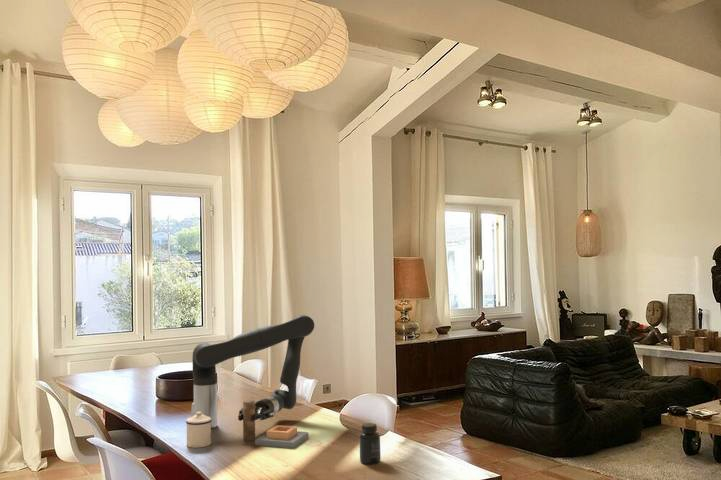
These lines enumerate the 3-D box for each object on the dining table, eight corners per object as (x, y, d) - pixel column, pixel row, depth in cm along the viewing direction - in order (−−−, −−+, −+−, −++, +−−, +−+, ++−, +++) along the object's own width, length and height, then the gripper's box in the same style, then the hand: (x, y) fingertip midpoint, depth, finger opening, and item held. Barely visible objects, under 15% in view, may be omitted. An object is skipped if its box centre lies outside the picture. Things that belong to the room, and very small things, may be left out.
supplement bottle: (379, 458, 206) (379, 421, 206) (381, 464, 199) (380, 427, 199) (359, 458, 205) (358, 422, 206) (360, 465, 199) (359, 427, 199)
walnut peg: (241, 440, 228) (240, 402, 229) (246, 437, 233) (246, 399, 233) (251, 441, 227) (251, 403, 228) (257, 438, 231) (256, 400, 232)
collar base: (255, 445, 223) (254, 432, 223) (272, 434, 236) (271, 422, 236) (293, 448, 218) (293, 435, 218) (308, 437, 231) (308, 425, 232)
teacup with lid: (216, 444, 224) (216, 411, 225) (194, 449, 218) (194, 416, 218) (198, 438, 233) (198, 406, 233) (177, 443, 226) (177, 411, 227)
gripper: (250, 397, 246) (228, 407, 230) (282, 399, 242) (262, 409, 226) (250, 416, 246) (228, 427, 230) (282, 418, 242) (263, 430, 225)
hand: (245, 418), depth 228 cm, fingers closed on walnut peg, 4 cm apart
